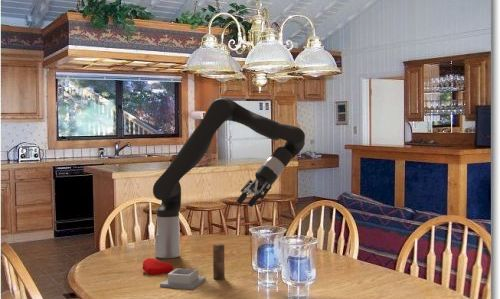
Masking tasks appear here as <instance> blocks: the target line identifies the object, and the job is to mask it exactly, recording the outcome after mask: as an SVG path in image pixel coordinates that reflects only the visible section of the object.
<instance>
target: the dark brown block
mask: <svg viewBox="0 0 500 299" xmlns="http://www.w3.org/2000/svg"><path fill="white" fill-rule="evenodd" d="M212 253H213V254H212V258H213V259H212V261H213V262H212V263H213V266H212V267H213V269H212V270H213V273H212V274H213V277H212V279H213V280H216V281H222V280H224V279H225V278H226V275H225V271H226V270H225V269H226V268H225V244H224V243H223V244H221V243H216V244H215V243H214V244H213V245H212Z"/></svg>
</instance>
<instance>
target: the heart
mask: <svg viewBox="0 0 500 299" xmlns="http://www.w3.org/2000/svg"><path fill="white" fill-rule="evenodd" d="M142 270H143V271H144V272H145V273H146V274H147V275H151V276H158V275H165V274H169V273H170V272H172V271H174V266H173V265H172V263H170V262H167V261H159V260H158V259H157V258H154V257H148V258H146V259H144V260H143V262H142Z"/></svg>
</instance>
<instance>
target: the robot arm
mask: <svg viewBox="0 0 500 299" xmlns="http://www.w3.org/2000/svg"><path fill="white" fill-rule="evenodd" d="M227 121H230V122H234V123H238V124H241V125H242V126H245V127H247V128H249V129H250V130H252V131H253V132H255V133H256V134H259V135H261V136H263V137H266V138H268V139H270V140H272V141H279V140H284V141H285V142H284V144H283V145H281V146H279V147H277V148H276V149H275V150H274V151H273V152H272V153H271V155H270V156H269V157H268V158H267V159H266V160H265V161H264V162H263V164H262V165H261V166H260V167H259V168H258V170H257V171H256V172H255V174H254V176H255V179H254V180H252V179H249V180H248V181H247V182H246V183H245V184H244V186H243V187H242V188H241V189H240V192H241V194H240V195H239V197H238V198H237V199H236V202H237V204H239V205H241V204H243V203H244V202H245V201H246V199H247V198H248V197H249V196H250V195H252V196H251V197H250V199H249V200H248V201H247V203H246V204H247V205H248V206H249V207H251V208H253V206H254V205H255V204H256V202H257V201H258V200H261V199H262V200H263V199H264V198H265V197H266V196H267V194H268V193H269V191H270V190H271V189H272V186H273V184H274V183H275V182H276V181H277V179H279V177H280V176H281V174H282V173H283V172H284V170H285V168H286V167H287V166H288V165H289V163H290V162H291V160H293V158H294V159H295V157H296V156H297V155H298V154H299V153H300V152H301V151H302V150H303V148H304V147H305V143H306V142H305V141H306V140H305V139H306V134H305V132H304V130H303V129H301V128H300V127H298V126H296V125H291V124H284V123H280V122H278V121H275V120H272V119H271V118H268V117H265V116H264V115H260V114H258V113H255V112H254V111H251V110H249V109H247V108H245V107H244V106H242V105H240V104H239V103H237V102H235V101H234V100H233V99H232V98H231V99H230V98H229V97H221V98H220V97H219V98H216V99H215V100H213V101H212V102H211V104H210V106H209V107H208V109H207V110H206V112H205V114H204V116H203V117H202V120H201V121H200V123H199V124H198V126H197V127H196V128H195V129H194V130H193V132H191V134H190V136H188V138H187V140H185V142H184V144H183V146H182V147H181V148H180V150H179V151H178V153H177V154H176V155H175V157H174V158H173V160H172V161H171V162H170V165H169V166H168V167H167V168H166V170H165V171H163V173H162V174H161V175H160V176H159V177H158V179H157V180H156V181H155V182H154V184H153V186H152V194H153V196H154V198H155V199H156V200H159V201H161V203H160V205H159V207H157V209H156V234H154V235H155V236H154V239H155V245H154V246H155V251H154V252H155V258H160V259H174V258H175V259H176V258H178V257H180V210H181V207H182V185H181V183H180V181H181V179H182V178H183V177H184V176H185V175H186V174H188V173H189V172H190V171H191V170H192V169H194V168H195V167H196V166H197V165H198V164H199V163H200V162H201V161H202V159H203V157H204V156H205V155H206V153H207V152H208V150H209V148H210V146H211V142H212V140H213V137H214V135H215V134H216V133H217V131H218V130H219V129H220V128H221V126H222V125H223V124H224V123H225V122H227Z"/></svg>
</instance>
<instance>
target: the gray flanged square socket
mask: <svg viewBox="0 0 500 299" xmlns="http://www.w3.org/2000/svg"><path fill="white" fill-rule="evenodd" d="M206 278H207V277H206V276H199V269H193V268H180V267H177V268H175V269H173V270H172V271H171V272H170V273H167V279H166V280H164V281H162V282H161V283H160V284H159V287H160V288H172V289H181V290H182V289H184V290H194V289H196V288H197V287H198V286H200V285H201V284H202V283H203V282H204V281H206Z"/></svg>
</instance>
